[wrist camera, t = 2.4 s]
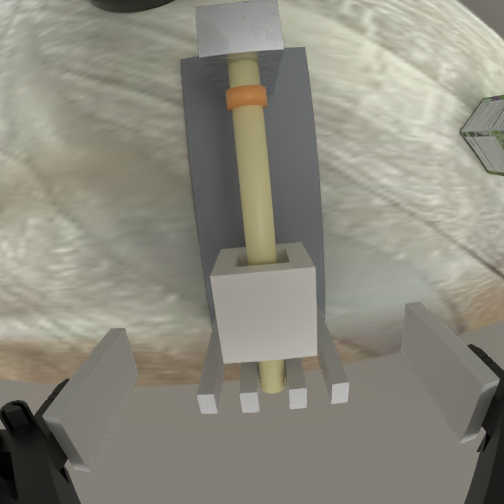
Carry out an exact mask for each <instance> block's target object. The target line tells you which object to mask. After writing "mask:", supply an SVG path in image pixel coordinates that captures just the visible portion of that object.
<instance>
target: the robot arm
mask: <svg viewBox="0 0 504 504" xmlns="http://www.w3.org/2000/svg"><path fill="white" fill-rule="evenodd" d="M89 1H91V2H92V3H93V4H94V5H96V6H98V7H100V8H102V9H105V10H108V11H114V12H134V11H141V10H146V9H150V8H154V7H157V6H160V5H163V4H166V3H168V2H171V1H173V0H89ZM400 354H401V355H402V357H403V358H404V360H405V361H406V363H407V364H408V365H409V367H410V368H411V370H412V371H413V373H414V374H415V375H416V377H417V379H418V380H419V381H420V383H421V384H422V386H423V387H424V389H425V390H426V392H427V393H428V395H429V396H430V398H431V399H432V401H433V402H434V404H435V405H436V407H437V408H438V410H439V411H440V413H441V414H442V416H443V417H444V419H445V420H446V422H447V424H448V425H449V427H450V428H451V430H452V432H453V433H454V435H455V436H456V438H457V439H458V441H459V443H460V444H461V443H463V442H466V441H468V440H471V439H474V438H476V437H477V435H478V433H479V431H480V428H481V426H482V427H483V428H484V429H485V431H486V434H485V436H484V438H483V440H482V442H481V444H480V446H479V448H478V450H477V452H480V454H479V458H478V462H477V466H476V469H475V472H474V476H473V479H472V482H471V485H470V488H469V491H468V494H467V497H466V500H465V503H464V504H504V371H503V370H502V369H501V368H500V367H499V366H498V365H497V364H496V363H495V362H493V360H492V359H491V358H490V357H488V355H487V354H486V353H485V352H484V351H483V350H482V349H480V348H478V347H476V346H474V345H472V344H470V345H465V344H464V343H463V342H462V341H461V340H460V339H459V338H458V337H457V336H456V335H455V334H454V333H453V332H452V331H451V330H450V329H449V328H448V327H447V326H446V325H445V324H443V323H442V322H441V321H440V320H439V319H438V318H437V317H436V316H435V315H434V314H433V313H432V312H431V311H429V310H428V309H427V308H426V307H425V306H424V305H423V304H422V303H421V302H414V303H408V304H406V307H405V318H404V327H403V336H402V344H401V352H400ZM138 377H139V374H138V371H137V368H136V365H135V361H134V358H133V355H132V351H131V348H130V344H129V341H128V337H127V334H126V330H125V328H111V329H110V330H109V332H108V333H107V334H106V335H105V336H104V338H103V339H102V340H101V341H100V342H99V344H98V345H97V346H96V347H95V349H94V350H93V351H92V352H91V354H90V355H89V356H88V357H87V359H86V360H85V361H84V362H83V364H82V365H81V366H80V367H79V369H78V370H77V371H76V372H75V374H74V375H73V376H72V377H71V379H66V380H65V381H63V382H62V383H60V384H59V385H58V386H57V387H56V388H55V389H54V391H53V392H52V394H51V395H50V396H49V397H48V400H46V401H45V402H44V403H43V405H42V406H41V407H40V409H39V410H38V411H37V412H36V414H35V415H34V416H33V414H32V412H31V410H30V409H29V407H28V405H27V403H26V402H24V401H20V400H16V401H11V402H9V403H7V404H6V405H4V406H3V407H2V408H1V410H0V419H1V421H2V423H3V424H4V426H5V428H6V430H5V429H4V430H1V429H0V504H81V503H80V501H79V498H78V496H77V493H76V491H75V488H74V486H73V484H72V481H71V478H70V475H69V473H68V471H67V469H66V467H65V466H64V465H65V463H66V461H67V459H68V460H69V461H70V463H71V464H72V466H73V467H74V468H75V469H78V470H82V471H87V472H91V471H92V469H93V467H94V465H95V463H96V461H97V458H98V456H99V454H100V452H101V450H102V448H103V446H104V444H105V442H106V440H107V438H108V436H109V434H110V432H111V430H112V427H113V426H114V424H115V422H116V420H117V418H118V416H119V414H120V412H121V410H122V408H123V406H124V404H125V402H126V400H127V398H128V396H129V394H130V392H131V390H132V388H133V386H134V384H135V382H136V381H137V379H138Z"/></svg>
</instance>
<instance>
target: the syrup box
mask: <svg viewBox="0 0 504 504" xmlns="http://www.w3.org/2000/svg"><path fill="white" fill-rule="evenodd" d="M460 133H461V135H462V136H463V137H464V139H465V140H466V141H467V143H468V144H469V145H470V147H471V148H472V149H473V151H474V152H475V154H476V155H477V156H478V158H479V159H480V161H481V162H482V164H483V165H484V167H485V168H486V170H487V171H488V173H489V174H494V175H501V176H504V95H500V96H494V97H489V98H484V99H483V101H482V102H481V103H480V105H479V106H478V108H477V109H476V111H475V112H474V113H473V115H472V116H471V118H470V119H469V121H468V122H467V123H466V125H465V126H464V128H463V129H462V131H461V132H460Z"/></svg>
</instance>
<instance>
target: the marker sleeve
mask: <svg viewBox="0 0 504 504" xmlns="http://www.w3.org/2000/svg"><path fill="white" fill-rule="evenodd" d="M276 255H277V263H276V264H265V265H254V266H248V262H247V252H246V247H240V248H229V249H221V250H220V253H219V255H218V258H217V260H216V263H215V265H214V268H213V270H212V273H211V275H210V280H211V286H212V293H213V300H214V306H215V313H216V319H217V326H218V332H219V338H220V344H221V350H222V356H223V362H224V363H240V362H255V361H268V360H280V359H290V358H300V357H309V356H317V299H316V267H315V265H314V263H313V262H312V260H311V258H310V256H309V254H308V253H307V251H306V249H305V247H304V246H303V244H302V242H296V243H285V244H276Z"/></svg>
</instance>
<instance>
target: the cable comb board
mask: <svg viewBox="0 0 504 504" xmlns="http://www.w3.org/2000/svg"><path fill="white" fill-rule="evenodd" d="M196 24H197V38H198V52H199V56H198V57H192V58H186V59H181V71H182V85H183V98H184V110H185V121H186V132H187V142H188V152H189V161H190V171H191V180H192V188H193V197H194V205H195V213H196V221H197V229H198V236H199V243H200V251H201V258H202V265H203V272H204V278H205V285H206V291H207V298H208V304H209V310H210V317H211V323H212V329H213V331H212V335H211V339H210V343H209V347H208V351H207V355H206V359H205V363H204V367H203V371H202V375H201V379H200V383H199V387H198V392H197V398H198V402H199V405H200V409H201V413H202V414H218V410H219V402H220V396H221V389H222V382H223V375H224V369H225V363H224V362H223V356H222V350H221V344H220V338H219V332H218V326H217V319H216V313H215V306H214V300H213V293H212V286H211V280H210V275H211V273H212V270H213V268H214V265H215V263H216V260H217V258H218V255H219V253H220V250H221V249H229V248H240V247H246V252H247V262H248V266H254V265H265V264H276V263H277V255H276V244H285V243H296V242H302V244H303V246H304V247H305V249H306V251H307V253H308V254H309V256H310V258H311V260H312V262H313V263H314V265H315V267H316V299H317V356H318V360H319V363H320V367H321V370H322V373H323V377H324V380H325V383H326V387H327V391H328V394H329V398H330V401H331V404H337V403H343V402H347V401H348V390H349V380H348V378H347V375H346V373H345V370H344V367H343V365H342V362H341V360H340V357H339V355H338V352H337V350H336V347H335V345H334V342H333V340H332V337H331V335H330V332H329V330H328V328H327V325H326V323H325V286H324V252H323V229H322V210H321V194H320V180H319V167H318V155H317V144H316V134H315V124H314V114H313V105H312V97H311V88H310V80H309V73H308V65H307V58H306V51H305V47H297V48H284V46H283V38H282V31H281V24H280V18H279V11H278V5H277V0H256V1H243V2H233V3H224V4H217V5H209V6H203V7H196ZM285 377H286V382H287V390H288V398H289V406H290V409H297V408H306V407H307V405H306V404H307V389H306V383H305V378H304V373H303V368H302V363H301V359H300V358H290V359H280V360H268V361H255V362H242V367H241V381H240V399H241V405H242V411H243V413H248V412H259V410H260V407H259V406H260V405H259V379H260V383H261V389H262V390H263V391H264V392H267V393H277V392H280V391H282V390H283V389H284V387H285Z"/></svg>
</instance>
